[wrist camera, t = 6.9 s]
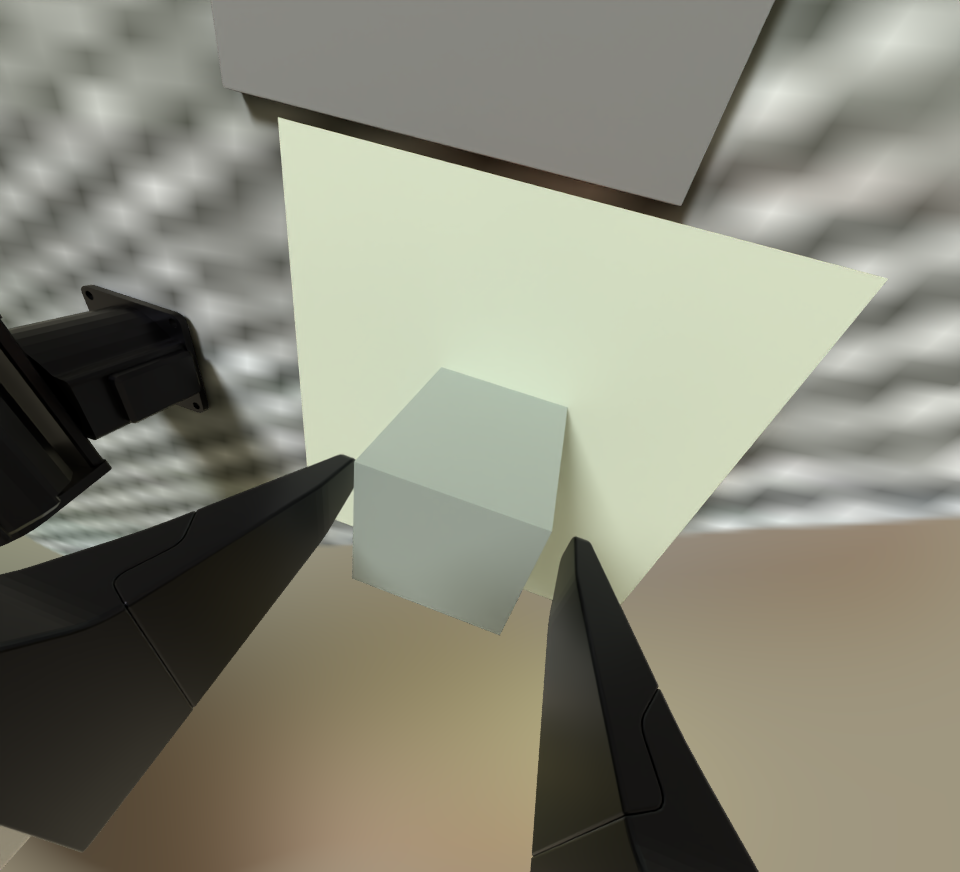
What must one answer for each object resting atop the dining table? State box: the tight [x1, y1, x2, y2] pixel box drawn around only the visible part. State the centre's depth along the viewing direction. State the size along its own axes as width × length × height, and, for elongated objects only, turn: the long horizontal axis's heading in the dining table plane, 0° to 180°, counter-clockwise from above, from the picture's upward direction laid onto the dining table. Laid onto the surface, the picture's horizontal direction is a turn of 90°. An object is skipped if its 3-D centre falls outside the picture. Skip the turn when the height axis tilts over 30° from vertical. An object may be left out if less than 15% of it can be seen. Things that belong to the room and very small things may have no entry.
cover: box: [278, 117, 887, 635], centre depth 11 cm, size 14×14×6 cm
